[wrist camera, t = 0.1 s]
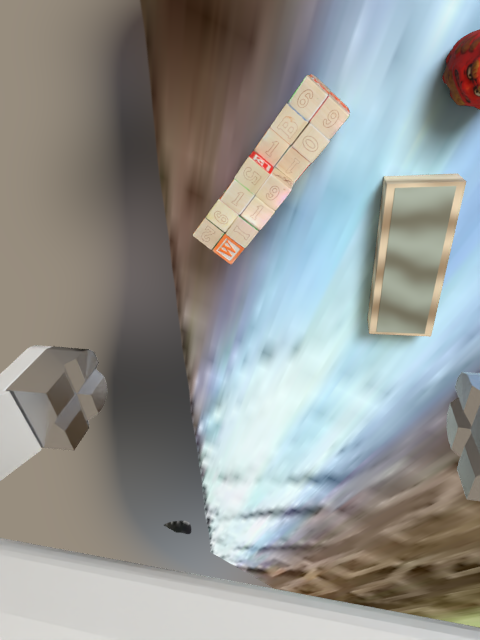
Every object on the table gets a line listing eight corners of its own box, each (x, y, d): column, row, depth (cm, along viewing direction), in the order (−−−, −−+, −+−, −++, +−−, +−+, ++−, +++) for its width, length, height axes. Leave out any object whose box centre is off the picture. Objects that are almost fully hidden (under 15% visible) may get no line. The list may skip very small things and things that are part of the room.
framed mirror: (383, 176, 51) (387, 184, 48) (457, 173, 50) (466, 181, 46) (367, 320, 64) (369, 334, 61) (425, 322, 62) (431, 336, 59)
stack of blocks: (311, 71, 47) (305, 75, 37) (349, 107, 48) (353, 120, 38) (215, 205, 58) (190, 236, 48) (247, 231, 60) (230, 266, 50)
